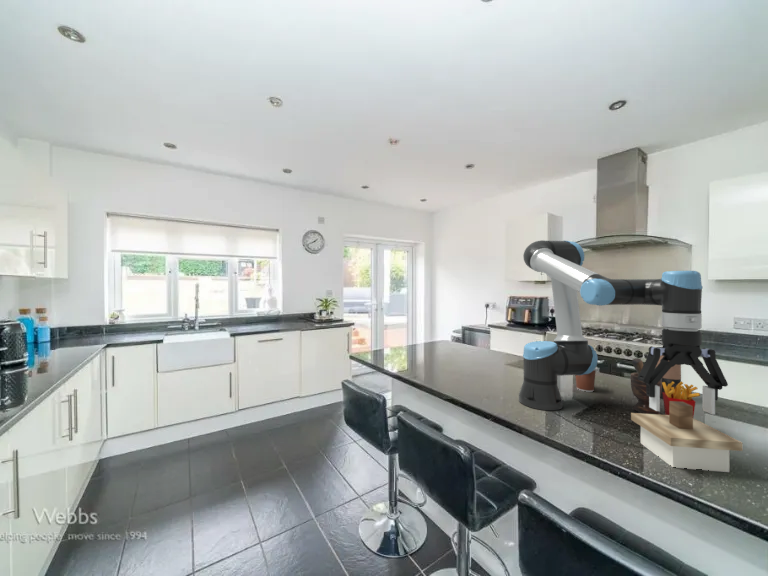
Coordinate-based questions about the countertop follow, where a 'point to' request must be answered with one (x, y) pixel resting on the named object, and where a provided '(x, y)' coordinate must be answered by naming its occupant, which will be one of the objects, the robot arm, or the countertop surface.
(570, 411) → the countertop surface
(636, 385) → the mortar and pestle
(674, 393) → the french fries
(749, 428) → the countertop surface
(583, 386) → the coffee cup
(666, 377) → the travel mug
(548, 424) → the countertop surface
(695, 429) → the lid
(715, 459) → the white open storage bin
